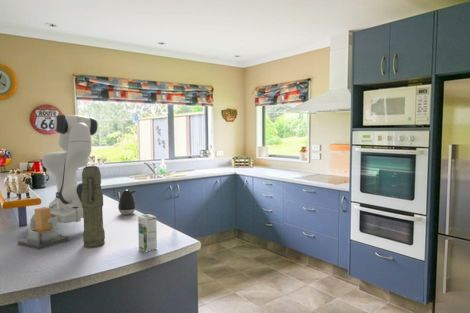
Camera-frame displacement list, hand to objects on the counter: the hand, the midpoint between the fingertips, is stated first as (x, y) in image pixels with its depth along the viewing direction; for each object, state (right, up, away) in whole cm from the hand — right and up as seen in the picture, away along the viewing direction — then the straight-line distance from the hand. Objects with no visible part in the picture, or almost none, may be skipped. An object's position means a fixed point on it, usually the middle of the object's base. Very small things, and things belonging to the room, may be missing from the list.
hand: (40, 219), depth 147 cm
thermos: (+25, -11, -3) cm, 28 cm away
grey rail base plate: (+1, -11, +1) cm, 11 cm away
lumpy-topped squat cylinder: (-11, -10, +21) cm, 25 cm away
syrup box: (+51, -11, -10) cm, 53 cm away
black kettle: (+22, -7, +53) cm, 58 cm away
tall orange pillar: (+1, -9, +1) cm, 9 cm away
